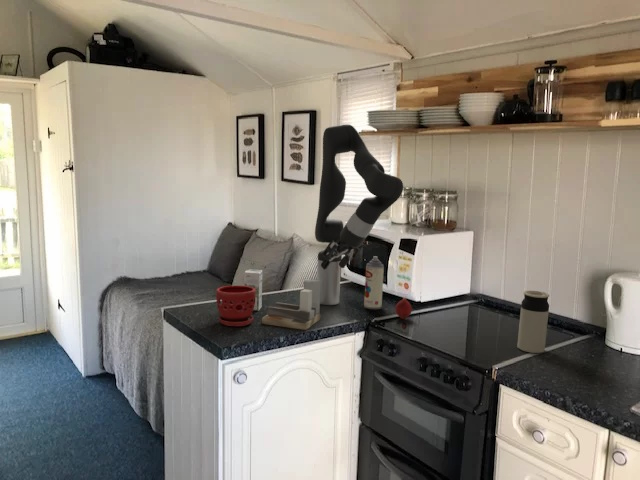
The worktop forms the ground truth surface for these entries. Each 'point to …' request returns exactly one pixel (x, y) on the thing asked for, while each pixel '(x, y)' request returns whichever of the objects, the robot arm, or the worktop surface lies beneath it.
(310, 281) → the skincare box
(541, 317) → the travel mug
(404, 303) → the onion
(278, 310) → the switch plate
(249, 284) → the syrup box
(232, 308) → the plant pot
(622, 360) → the worktop surface
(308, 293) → the switch knob
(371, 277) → the aerosol can
